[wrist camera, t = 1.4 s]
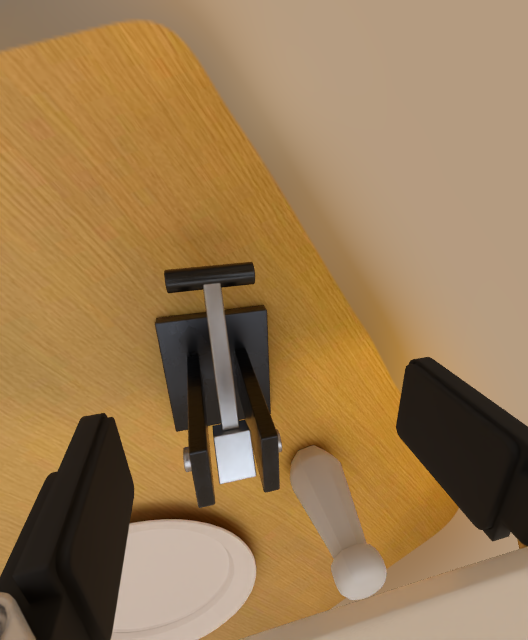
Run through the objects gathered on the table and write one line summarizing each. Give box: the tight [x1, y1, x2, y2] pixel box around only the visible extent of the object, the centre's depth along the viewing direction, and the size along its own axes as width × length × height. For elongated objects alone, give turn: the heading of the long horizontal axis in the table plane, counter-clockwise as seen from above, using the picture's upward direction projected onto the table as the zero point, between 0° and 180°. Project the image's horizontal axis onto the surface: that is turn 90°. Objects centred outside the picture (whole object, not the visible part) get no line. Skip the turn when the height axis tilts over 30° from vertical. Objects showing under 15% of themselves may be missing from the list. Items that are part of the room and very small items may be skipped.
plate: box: [110, 519, 256, 640], centre depth 37 cm, size 26×26×2 cm
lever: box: [164, 262, 256, 484], centre depth 20 cm, size 13×6×2 cm, turn 2°
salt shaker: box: [290, 445, 387, 600], centre depth 31 cm, size 6×6×13 cm
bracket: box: [155, 305, 282, 508], centre depth 24 cm, size 11×9×12 cm
